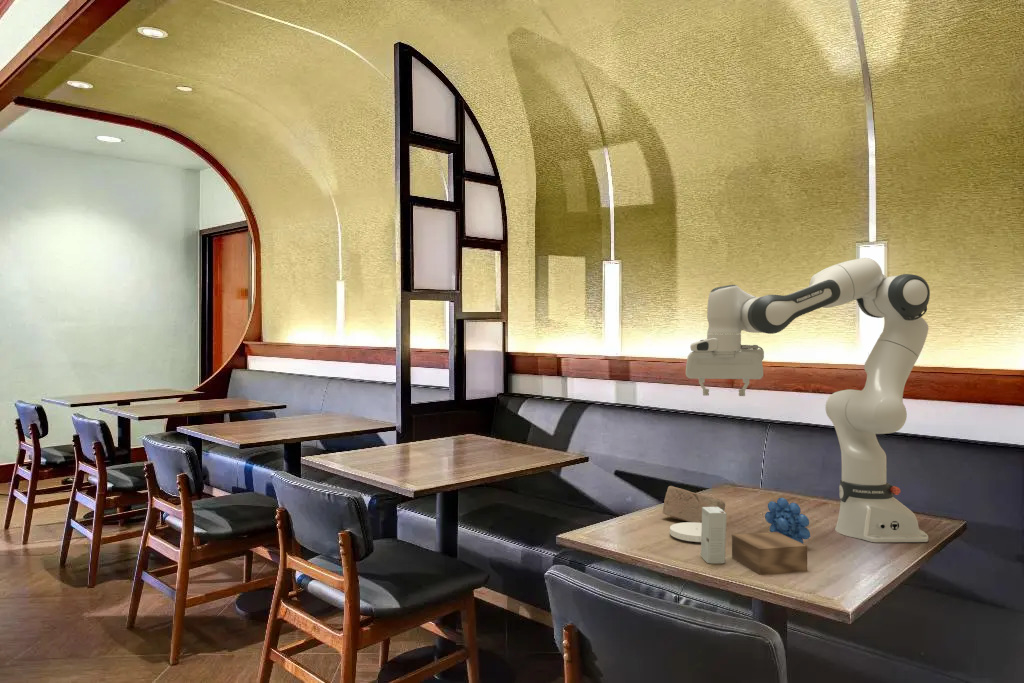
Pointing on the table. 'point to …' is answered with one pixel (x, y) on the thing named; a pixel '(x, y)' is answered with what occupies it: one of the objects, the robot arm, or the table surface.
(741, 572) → the table surface
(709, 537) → the skincare box
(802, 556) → the walnut block
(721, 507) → the brick
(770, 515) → the grapes
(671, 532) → the plastic lid
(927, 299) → the robot arm
